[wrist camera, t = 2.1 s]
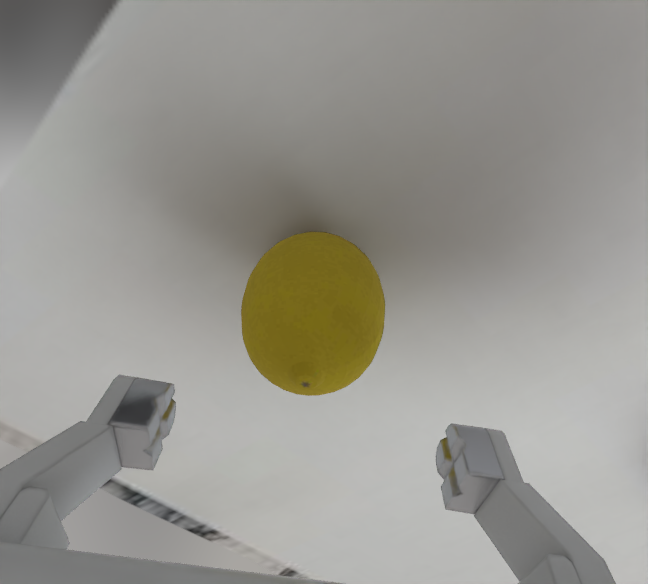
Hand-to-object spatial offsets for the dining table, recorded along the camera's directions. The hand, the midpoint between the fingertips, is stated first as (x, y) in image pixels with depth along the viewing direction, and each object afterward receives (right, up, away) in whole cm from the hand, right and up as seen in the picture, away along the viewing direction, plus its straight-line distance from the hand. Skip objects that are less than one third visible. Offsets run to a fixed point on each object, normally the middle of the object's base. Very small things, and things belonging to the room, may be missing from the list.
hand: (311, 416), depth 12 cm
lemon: (0, +5, +7) cm, 9 cm away
